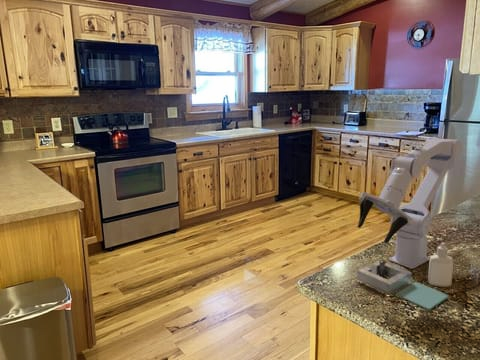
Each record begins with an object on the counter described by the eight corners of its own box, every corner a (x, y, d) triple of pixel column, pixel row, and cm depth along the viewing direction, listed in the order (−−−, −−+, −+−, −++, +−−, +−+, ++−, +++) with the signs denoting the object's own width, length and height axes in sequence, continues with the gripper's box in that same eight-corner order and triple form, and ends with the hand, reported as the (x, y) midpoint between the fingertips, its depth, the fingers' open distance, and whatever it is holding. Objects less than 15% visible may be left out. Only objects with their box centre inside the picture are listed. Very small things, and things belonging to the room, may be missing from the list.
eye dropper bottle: (448, 290, 100) (452, 248, 97) (425, 283, 103) (429, 243, 101) (453, 283, 103) (457, 243, 100) (431, 277, 106) (434, 238, 104)
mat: (415, 283, 104) (415, 281, 104) (448, 297, 97) (449, 295, 96) (395, 295, 98) (395, 293, 98) (429, 310, 91) (429, 308, 91)
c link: (378, 270, 112) (379, 260, 111) (410, 284, 104) (411, 272, 103) (357, 281, 106) (357, 270, 105) (389, 296, 98) (389, 284, 97)
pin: (380, 275, 109) (381, 259, 107) (386, 278, 107) (387, 261, 106) (377, 277, 108) (377, 261, 106) (382, 280, 106) (383, 263, 105)
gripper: (373, 174, 101) (352, 215, 97) (424, 201, 98) (404, 245, 94) (365, 183, 108) (344, 223, 103) (413, 209, 105) (393, 250, 101)
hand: (372, 234), depth 99 cm, fingers open, 7 cm apart
